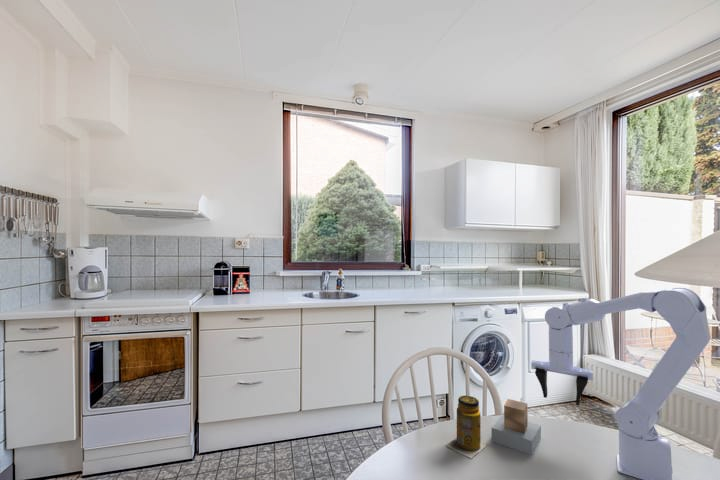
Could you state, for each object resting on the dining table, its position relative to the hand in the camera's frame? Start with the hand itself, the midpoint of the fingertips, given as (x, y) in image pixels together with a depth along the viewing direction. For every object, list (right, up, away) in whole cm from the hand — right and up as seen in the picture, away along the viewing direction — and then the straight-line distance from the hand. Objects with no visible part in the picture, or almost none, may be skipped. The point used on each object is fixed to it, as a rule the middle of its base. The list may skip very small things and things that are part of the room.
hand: (561, 400), depth 93 cm
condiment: (-27, -10, -4) cm, 30 cm away
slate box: (-13, -11, -1) cm, 17 cm away
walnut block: (-13, -7, -1) cm, 15 cm away
